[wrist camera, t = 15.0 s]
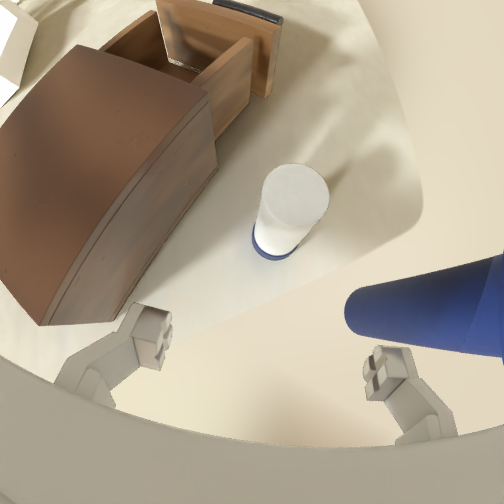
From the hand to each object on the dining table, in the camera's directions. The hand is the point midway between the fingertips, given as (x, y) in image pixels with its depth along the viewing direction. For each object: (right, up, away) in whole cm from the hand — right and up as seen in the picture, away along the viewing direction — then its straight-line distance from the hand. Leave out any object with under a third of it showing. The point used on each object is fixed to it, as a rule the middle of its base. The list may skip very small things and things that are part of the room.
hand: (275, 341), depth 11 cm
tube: (+1, +4, +11) cm, 12 cm away
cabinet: (-13, +7, +11) cm, 19 cm away
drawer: (-6, +17, +13) cm, 22 cm away
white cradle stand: (-38, +30, +15) cm, 51 cm away
